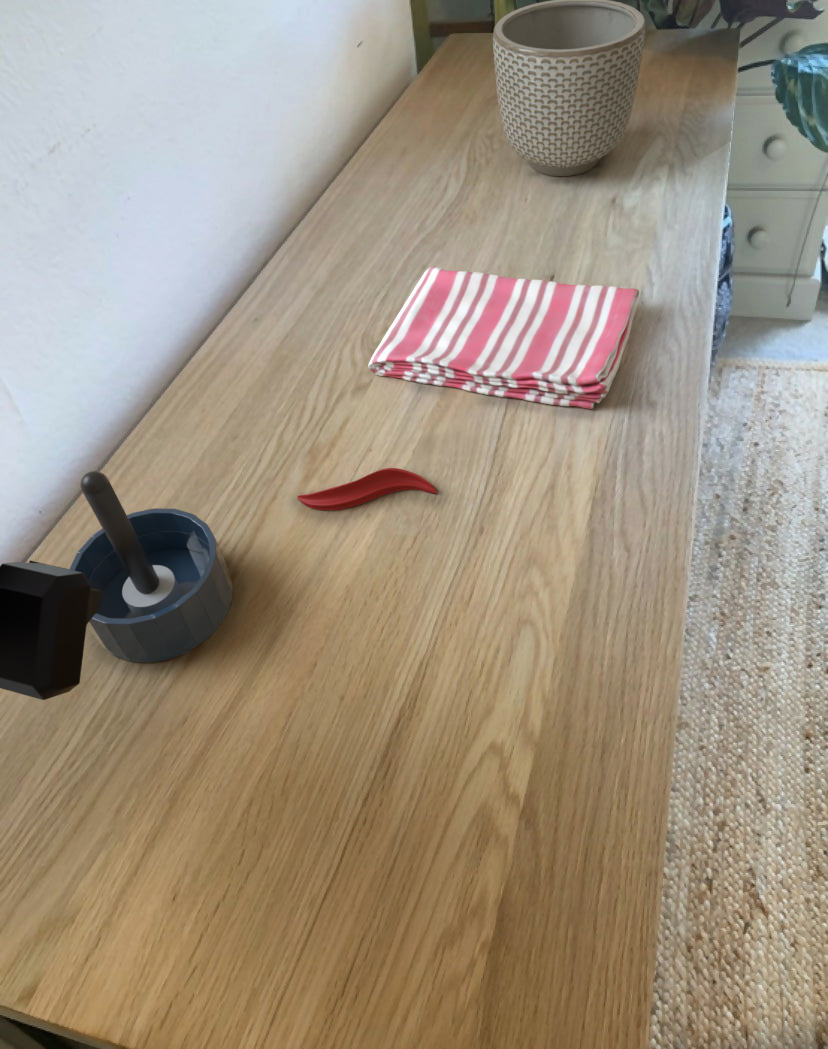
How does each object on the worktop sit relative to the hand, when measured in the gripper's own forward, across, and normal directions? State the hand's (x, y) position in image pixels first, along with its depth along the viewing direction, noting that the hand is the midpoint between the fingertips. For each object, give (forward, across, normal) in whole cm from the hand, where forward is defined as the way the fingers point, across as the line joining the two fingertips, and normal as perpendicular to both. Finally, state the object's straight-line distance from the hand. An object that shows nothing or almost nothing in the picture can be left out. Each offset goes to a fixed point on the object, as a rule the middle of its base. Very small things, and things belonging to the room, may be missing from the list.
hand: (36, 583), depth 53 cm
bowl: (+15, 0, +3) cm, 15 cm away
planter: (+69, -16, -50) cm, 87 cm away
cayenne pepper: (+25, -12, -7) cm, 29 cm away
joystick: (+14, 0, +3) cm, 14 cm away
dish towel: (+42, -18, -23) cm, 51 cm away
